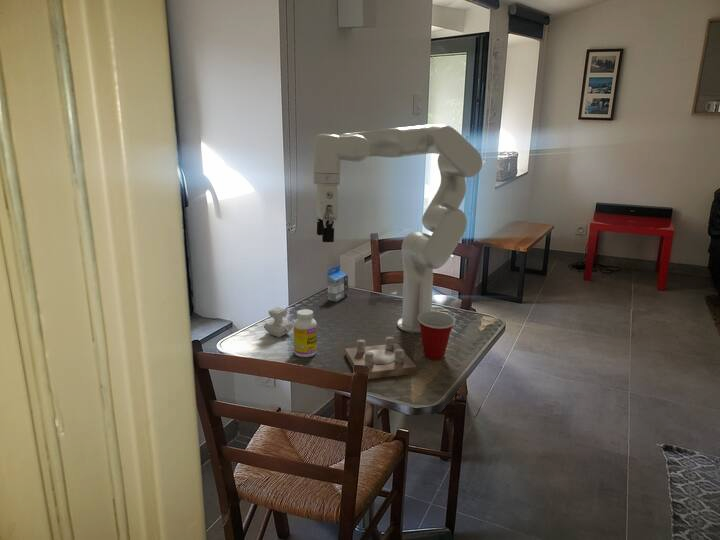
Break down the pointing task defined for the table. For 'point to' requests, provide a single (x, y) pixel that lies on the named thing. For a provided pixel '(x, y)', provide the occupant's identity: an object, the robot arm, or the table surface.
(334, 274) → the label tape box
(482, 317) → the table surface
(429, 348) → the plastic cup
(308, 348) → the supplement bottle
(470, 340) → the table surface
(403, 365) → the stub board
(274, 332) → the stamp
